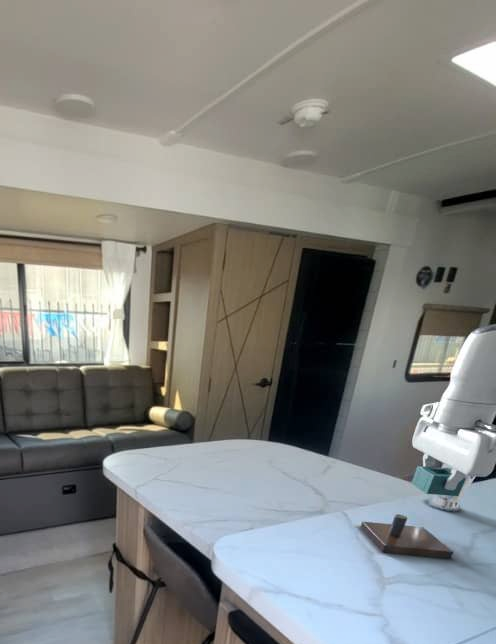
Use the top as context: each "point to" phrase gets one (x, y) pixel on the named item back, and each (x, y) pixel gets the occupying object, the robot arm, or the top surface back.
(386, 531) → the base pad
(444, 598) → the top surface
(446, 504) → the beer glass
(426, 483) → the teal hollow square block
